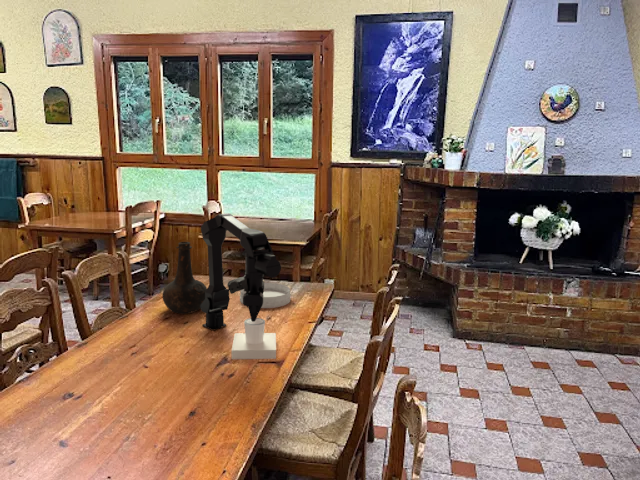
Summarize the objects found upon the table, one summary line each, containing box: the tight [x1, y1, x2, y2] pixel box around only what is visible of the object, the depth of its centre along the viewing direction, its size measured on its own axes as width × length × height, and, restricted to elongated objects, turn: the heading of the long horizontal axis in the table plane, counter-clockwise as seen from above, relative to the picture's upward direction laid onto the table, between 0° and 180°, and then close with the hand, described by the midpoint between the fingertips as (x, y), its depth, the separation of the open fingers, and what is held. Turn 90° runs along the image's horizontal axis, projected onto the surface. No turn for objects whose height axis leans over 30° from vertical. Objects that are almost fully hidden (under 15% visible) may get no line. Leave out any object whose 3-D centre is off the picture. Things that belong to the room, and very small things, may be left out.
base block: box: [231, 332, 277, 360], centre depth 159 cm, size 14×14×3 cm
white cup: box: [243, 317, 266, 345], centre depth 158 cm, size 7×7×7 cm
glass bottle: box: [162, 241, 208, 315], centre depth 192 cm, size 18×18×28 cm
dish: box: [239, 281, 291, 309], centre depth 211 cm, size 22×22×5 cm
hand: (253, 316), depth 159 cm, fingers open, 9 cm apart
